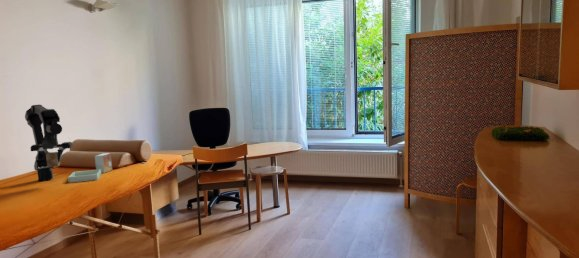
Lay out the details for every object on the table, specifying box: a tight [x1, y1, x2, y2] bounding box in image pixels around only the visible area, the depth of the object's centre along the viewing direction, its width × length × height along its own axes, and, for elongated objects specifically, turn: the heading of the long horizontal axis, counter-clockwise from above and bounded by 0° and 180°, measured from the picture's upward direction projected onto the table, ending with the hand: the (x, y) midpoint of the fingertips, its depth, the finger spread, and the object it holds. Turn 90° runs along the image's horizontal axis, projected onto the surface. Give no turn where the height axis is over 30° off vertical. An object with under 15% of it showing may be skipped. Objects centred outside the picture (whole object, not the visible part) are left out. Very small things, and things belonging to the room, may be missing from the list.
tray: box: [67, 169, 102, 184], centre depth 239 cm, size 14×14×3 cm
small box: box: [94, 152, 113, 174], centre depth 255 cm, size 8×6×10 cm
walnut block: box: [46, 151, 61, 168], centre depth 226 cm, size 5×5×7 cm
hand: (53, 162), depth 226 cm, fingers closed on walnut block, 5 cm apart
